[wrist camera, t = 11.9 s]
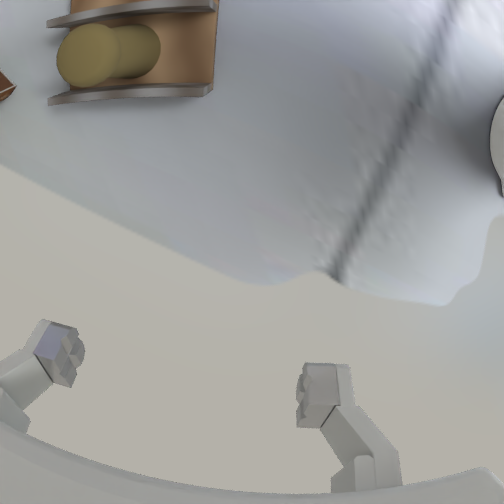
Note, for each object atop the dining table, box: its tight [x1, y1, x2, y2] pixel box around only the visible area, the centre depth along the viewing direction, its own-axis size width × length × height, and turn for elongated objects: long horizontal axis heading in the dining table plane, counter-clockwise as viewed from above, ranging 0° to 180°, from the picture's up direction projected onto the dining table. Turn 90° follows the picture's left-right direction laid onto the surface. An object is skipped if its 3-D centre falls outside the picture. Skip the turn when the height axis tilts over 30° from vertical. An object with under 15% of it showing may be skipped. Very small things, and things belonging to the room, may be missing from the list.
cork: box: [57, 23, 161, 87], centre depth 21 cm, size 6×6×11 cm
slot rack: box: [47, 0, 219, 106], centre depth 22 cm, size 16×17×6 cm
